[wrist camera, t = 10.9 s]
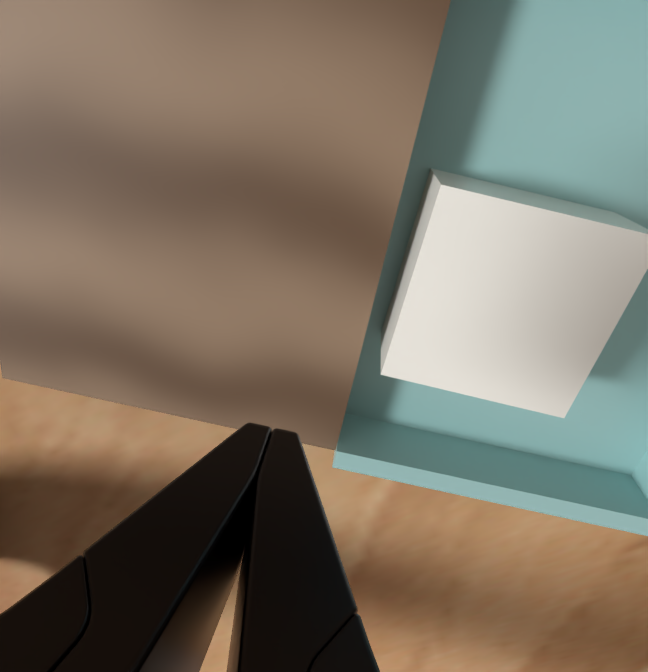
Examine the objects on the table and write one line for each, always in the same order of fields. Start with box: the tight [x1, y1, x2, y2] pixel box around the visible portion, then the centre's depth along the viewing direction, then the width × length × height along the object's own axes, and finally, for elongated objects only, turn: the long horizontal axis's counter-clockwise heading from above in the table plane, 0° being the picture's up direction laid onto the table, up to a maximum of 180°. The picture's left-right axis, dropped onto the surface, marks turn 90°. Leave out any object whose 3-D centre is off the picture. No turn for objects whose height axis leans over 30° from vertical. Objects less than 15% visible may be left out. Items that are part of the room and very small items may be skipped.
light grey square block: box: [381, 168, 648, 418], centre depth 15 cm, size 6×6×3 cm
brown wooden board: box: [0, 0, 451, 450], centre depth 16 cm, size 16×13×2 cm
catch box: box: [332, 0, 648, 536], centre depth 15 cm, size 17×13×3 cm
